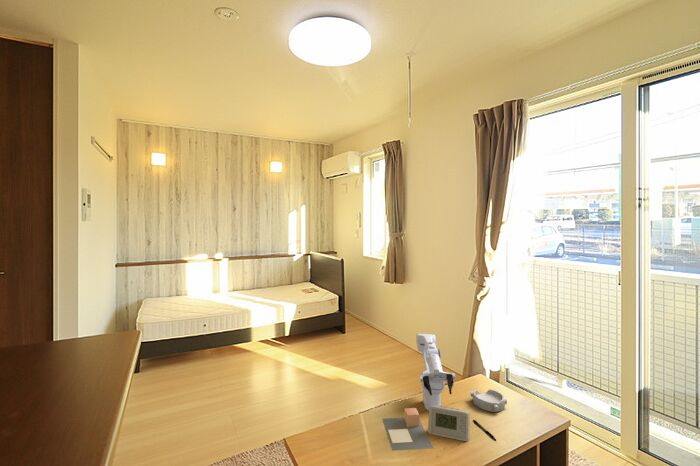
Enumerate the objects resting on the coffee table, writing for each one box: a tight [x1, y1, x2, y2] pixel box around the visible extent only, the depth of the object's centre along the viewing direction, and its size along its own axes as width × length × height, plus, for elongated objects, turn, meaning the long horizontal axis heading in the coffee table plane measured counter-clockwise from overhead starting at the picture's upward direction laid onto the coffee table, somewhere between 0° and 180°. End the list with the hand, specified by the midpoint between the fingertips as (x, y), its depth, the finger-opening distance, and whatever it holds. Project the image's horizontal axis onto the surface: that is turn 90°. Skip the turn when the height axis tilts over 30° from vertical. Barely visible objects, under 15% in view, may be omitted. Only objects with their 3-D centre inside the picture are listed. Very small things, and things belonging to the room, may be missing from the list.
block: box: [403, 407, 420, 427], centre depth 141 cm, size 5×5×5 cm
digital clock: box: [427, 405, 471, 442], centre depth 134 cm, size 16×9×11 cm, turn 60°
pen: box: [472, 419, 497, 441], centre depth 138 cm, size 14×2×1 cm, turn 17°
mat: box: [382, 417, 434, 451], centre depth 135 cm, size 20×16×1 cm
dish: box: [469, 388, 508, 413], centre depth 157 cm, size 14×14×5 cm
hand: (440, 392), depth 132 cm, fingers open, 7 cm apart
